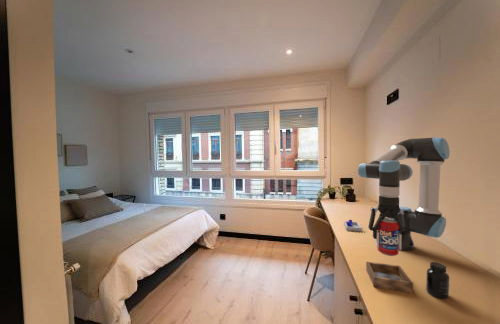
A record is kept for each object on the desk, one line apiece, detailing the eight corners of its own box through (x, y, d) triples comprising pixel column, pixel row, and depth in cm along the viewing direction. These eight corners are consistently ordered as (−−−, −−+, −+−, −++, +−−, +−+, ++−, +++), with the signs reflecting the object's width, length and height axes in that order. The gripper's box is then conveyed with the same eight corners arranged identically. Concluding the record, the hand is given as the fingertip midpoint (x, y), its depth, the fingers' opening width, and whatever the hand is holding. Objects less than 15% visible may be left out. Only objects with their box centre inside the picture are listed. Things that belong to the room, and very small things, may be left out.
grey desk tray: (357, 225, 166) (357, 222, 166) (361, 232, 153) (361, 228, 153) (343, 224, 169) (344, 221, 169) (346, 230, 156) (346, 226, 156)
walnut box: (399, 274, 100) (399, 265, 99) (412, 293, 86) (413, 283, 86) (366, 269, 104) (366, 261, 104) (373, 286, 90) (373, 277, 90)
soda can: (388, 248, 99) (388, 216, 98) (403, 256, 91) (403, 221, 91) (373, 249, 98) (373, 217, 97) (387, 258, 90) (387, 222, 89)
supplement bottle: (421, 289, 89) (422, 260, 88) (436, 288, 89) (437, 259, 89) (437, 300, 82) (438, 269, 81) (453, 299, 82) (454, 268, 82)
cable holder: (352, 228, 158) (352, 223, 158) (347, 227, 160) (347, 222, 160) (354, 225, 165) (354, 220, 165) (349, 224, 167) (349, 219, 167)
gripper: (413, 195, 94) (411, 246, 95) (360, 193, 100) (360, 241, 101) (421, 198, 87) (419, 254, 88) (364, 196, 93) (363, 247, 94)
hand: (387, 247), depth 94 cm, fingers closed on soda can, 8 cm apart
